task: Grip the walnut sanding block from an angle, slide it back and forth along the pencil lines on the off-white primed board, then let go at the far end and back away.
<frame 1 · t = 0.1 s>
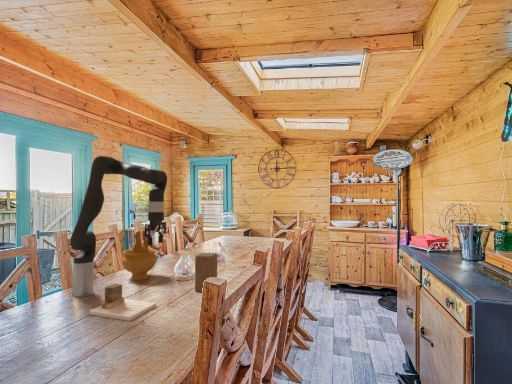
hand: (155, 244, 149), 29 cm above the table, tool pointing down, fingers open, 8 cm apart
mustard brown vase: (139, 277, 196), on the table
wooden block: (206, 290, 171), on the table
primed board: (123, 310, 141), on the table
sanding block: (113, 305, 143), point 2 cm above the table, touching primed board
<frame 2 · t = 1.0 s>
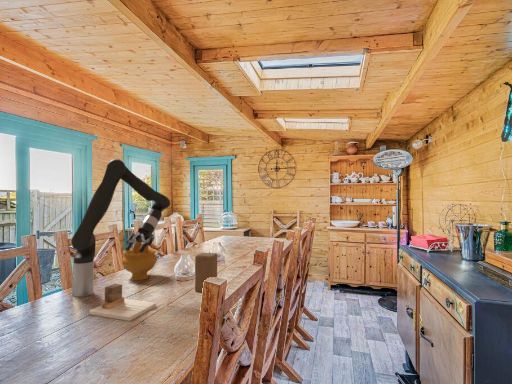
hand: (133, 250, 155), 25 cm above the table, tool tilted 45°, fingers open, 8 cm apart
nothing on the table moved.
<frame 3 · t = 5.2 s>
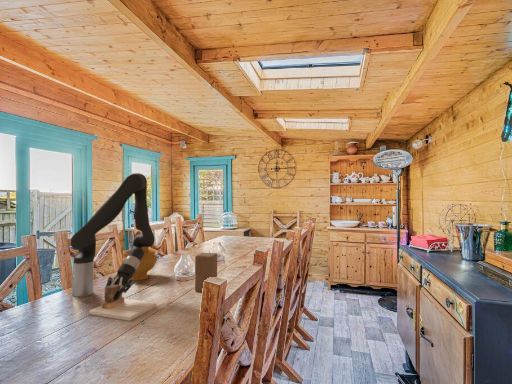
hand: (110, 299, 141), 5 cm above the table, tool tilted 45°, fingers closed on sanding block, 4 cm apart
sanding block: (113, 305, 143), point 2 cm above the table, touching gripper, primed board
everything else where it was.
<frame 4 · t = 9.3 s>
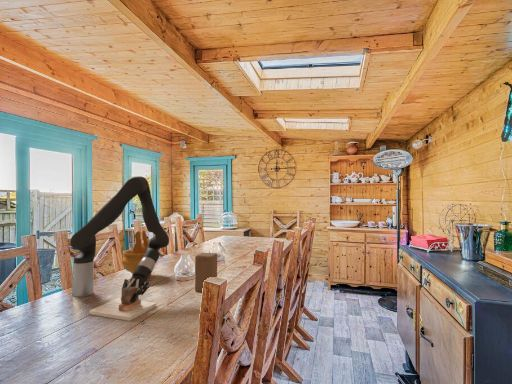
hand: (127, 301, 138), 5 cm above the table, tool tilted 45°, fingers closed on sanding block, 4 cm apart
sanding block: (130, 307, 140), point 2 cm above the table, touching gripper
everything else where it was.
when the fingers open (5 cm above the table, at t = 13.8 s): sanding block stays where it is, resting on primed board.
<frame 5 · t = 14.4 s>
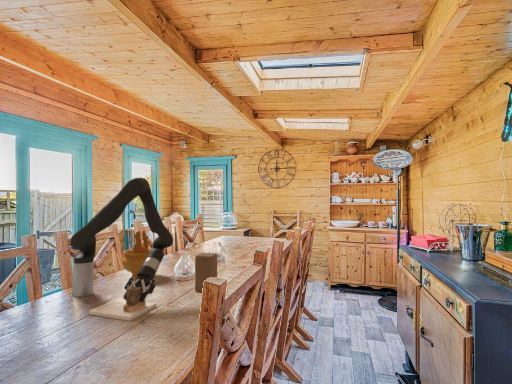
hand: (132, 300, 138), 6 cm above the table, tool tilted 45°, fingers open, 8 cm apart
sanding block: (134, 308, 139), point 2 cm above the table, touching primed board
everything else where it was.
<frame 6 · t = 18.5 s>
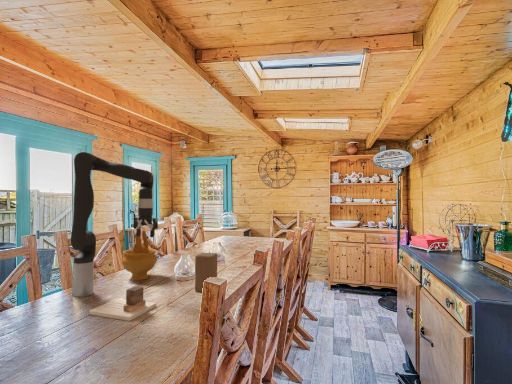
hand: (145, 236, 167), 30 cm above the table, tool pointing down, fingers open, 8 cm apart
nothing on the table moved.
at the end: sanding block inside the target area on the primed board (0.4 cm from its centre), point 1.5 cm above the primed board's base; sanding block tilted 0°; the gripper is holding nothing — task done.
